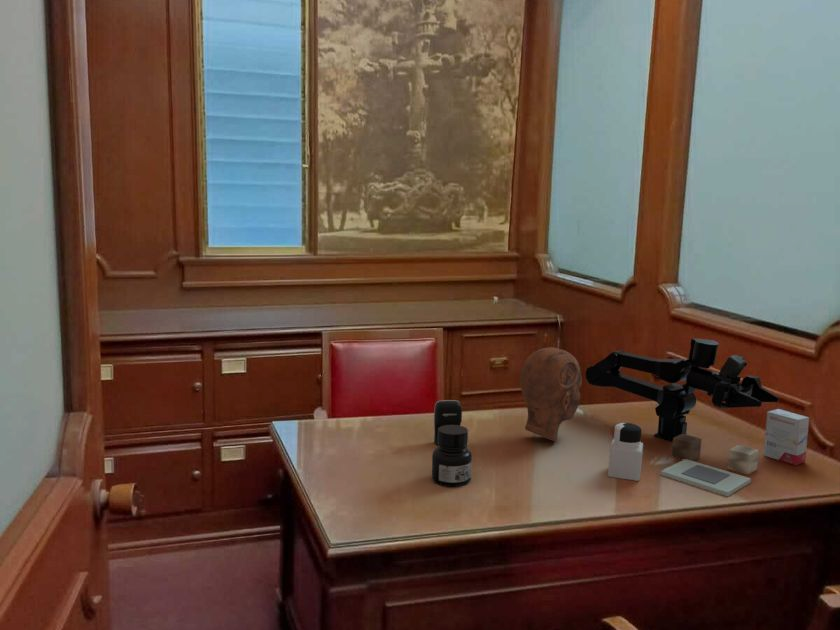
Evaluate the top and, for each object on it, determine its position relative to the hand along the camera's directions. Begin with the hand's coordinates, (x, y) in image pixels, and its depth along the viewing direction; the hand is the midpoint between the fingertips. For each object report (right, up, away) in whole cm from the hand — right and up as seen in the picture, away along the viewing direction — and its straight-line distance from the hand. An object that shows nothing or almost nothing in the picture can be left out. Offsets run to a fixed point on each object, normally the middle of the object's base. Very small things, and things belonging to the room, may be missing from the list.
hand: (769, 402), depth 180 cm
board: (-18, -17, -7) cm, 26 cm away
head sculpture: (-50, -12, +18) cm, 55 cm away
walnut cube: (-18, -15, +7) cm, 24 cm away
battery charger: (-78, -13, +12) cm, 80 cm away
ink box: (+7, -15, +7) cm, 18 cm away
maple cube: (-7, -16, 0) cm, 18 cm away
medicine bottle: (-37, -17, -5) cm, 41 cm away
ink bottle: (-78, -17, -11) cm, 80 cm away
